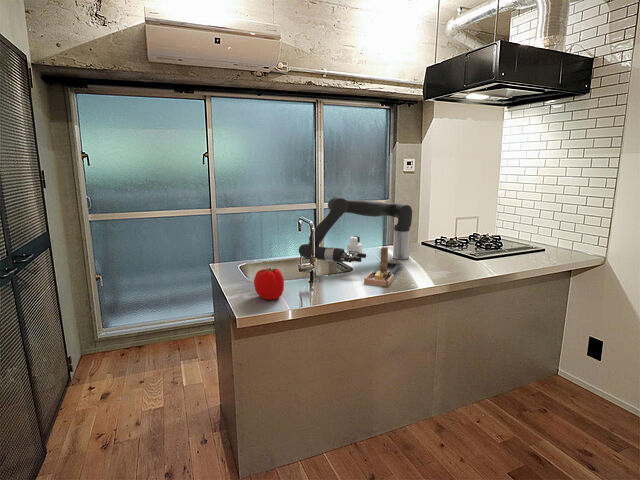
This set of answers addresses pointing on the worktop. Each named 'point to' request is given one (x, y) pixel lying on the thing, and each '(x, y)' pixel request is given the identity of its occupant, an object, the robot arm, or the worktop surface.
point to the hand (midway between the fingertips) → (363, 257)
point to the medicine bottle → (354, 244)
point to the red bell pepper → (269, 283)
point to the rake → (384, 260)
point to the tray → (377, 282)
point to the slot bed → (391, 269)
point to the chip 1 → (379, 276)
